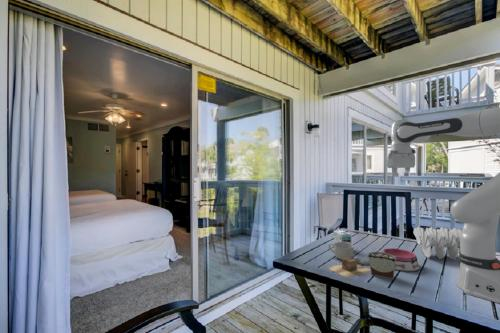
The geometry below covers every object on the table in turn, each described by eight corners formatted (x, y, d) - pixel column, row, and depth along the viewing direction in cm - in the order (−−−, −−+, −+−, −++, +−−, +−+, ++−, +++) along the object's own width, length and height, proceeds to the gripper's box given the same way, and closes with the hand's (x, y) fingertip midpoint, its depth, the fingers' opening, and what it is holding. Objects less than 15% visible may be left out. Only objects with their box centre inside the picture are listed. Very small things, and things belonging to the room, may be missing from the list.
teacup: (356, 258, 142) (356, 244, 142) (349, 263, 134) (349, 248, 134) (333, 252, 151) (333, 239, 151) (325, 257, 143) (325, 243, 143)
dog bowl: (391, 256, 144) (391, 245, 144) (427, 267, 127) (427, 254, 128) (372, 263, 135) (371, 250, 135) (407, 275, 118) (407, 261, 118)
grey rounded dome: (376, 262, 134) (376, 260, 134) (368, 266, 129) (368, 264, 129) (361, 258, 141) (361, 256, 142) (352, 261, 136) (352, 259, 136)
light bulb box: (352, 251, 153) (351, 234, 153) (342, 252, 152) (341, 234, 152) (343, 246, 164) (342, 229, 164) (333, 246, 163) (333, 230, 163)
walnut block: (356, 270, 125) (356, 260, 125) (349, 271, 123) (349, 261, 123) (349, 266, 129) (348, 257, 129) (342, 268, 127) (341, 258, 127)
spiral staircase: (473, 270, 133) (421, 264, 138) (456, 246, 148) (410, 242, 154) (484, 243, 125) (428, 238, 131) (465, 222, 140) (416, 218, 146)
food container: (397, 275, 118) (397, 254, 119) (397, 279, 113) (396, 258, 113) (369, 269, 125) (369, 250, 125) (367, 274, 120) (367, 253, 120)
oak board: (373, 272, 124) (373, 270, 124) (347, 279, 116) (347, 278, 116) (350, 263, 136) (350, 261, 136) (326, 269, 128) (326, 267, 128)
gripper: (394, 149, 124) (395, 177, 124) (417, 150, 134) (418, 176, 134) (383, 150, 130) (383, 176, 130) (405, 151, 140) (406, 175, 139)
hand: (401, 176), depth 132 cm, fingers open, 8 cm apart
